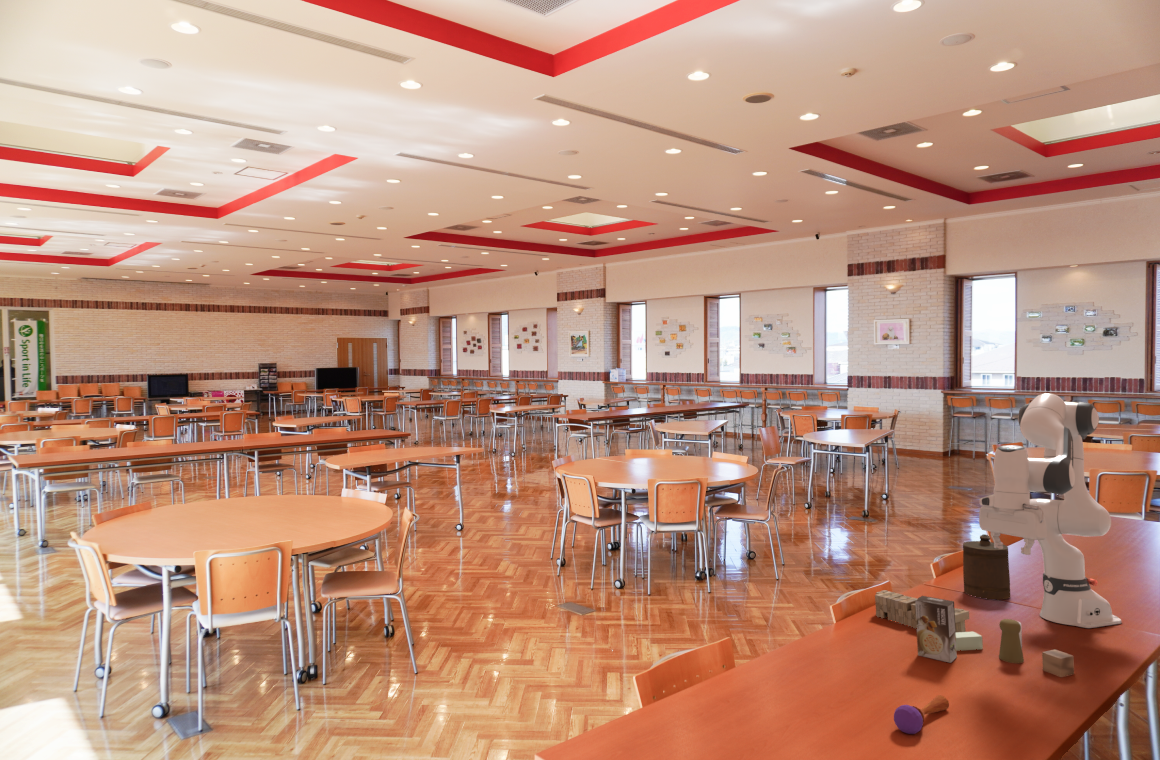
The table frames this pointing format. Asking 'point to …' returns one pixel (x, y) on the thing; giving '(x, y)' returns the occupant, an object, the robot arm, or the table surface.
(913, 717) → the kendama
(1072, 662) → the walnut cube
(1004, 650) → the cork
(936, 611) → the coffee box
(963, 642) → the sage block
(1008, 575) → the wooden container
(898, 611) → the block tower
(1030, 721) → the table surface
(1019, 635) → the white capsule
